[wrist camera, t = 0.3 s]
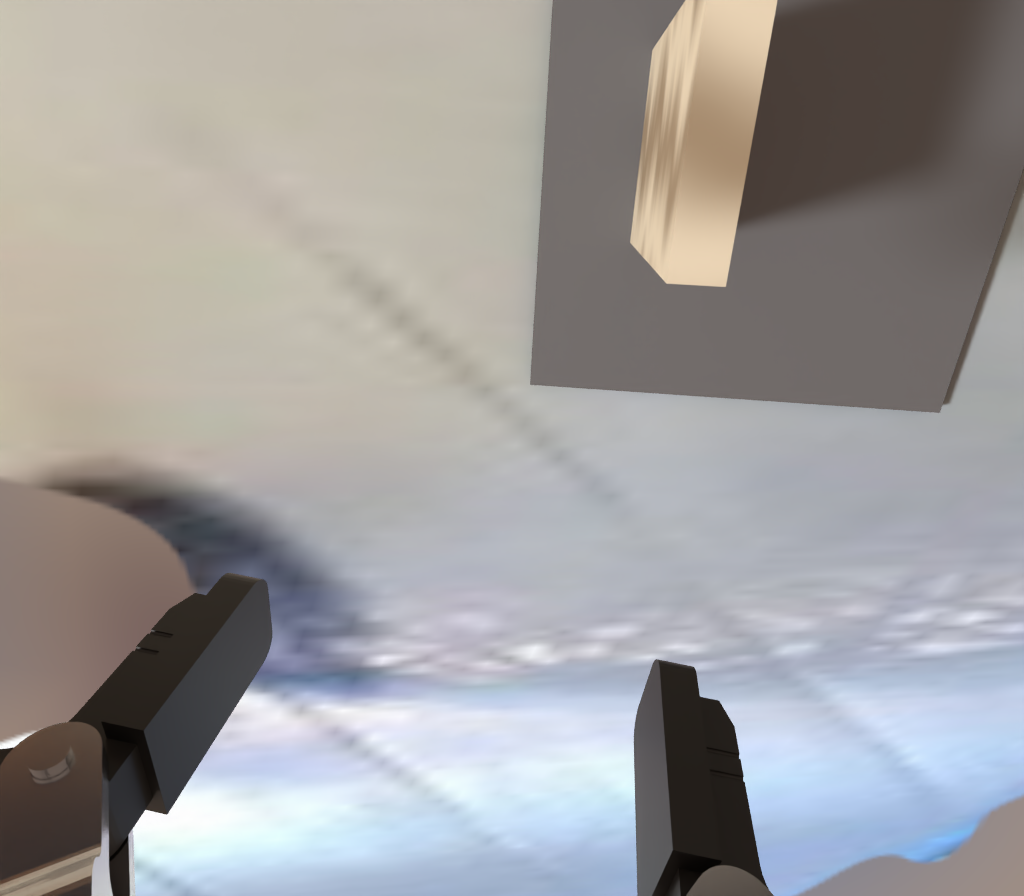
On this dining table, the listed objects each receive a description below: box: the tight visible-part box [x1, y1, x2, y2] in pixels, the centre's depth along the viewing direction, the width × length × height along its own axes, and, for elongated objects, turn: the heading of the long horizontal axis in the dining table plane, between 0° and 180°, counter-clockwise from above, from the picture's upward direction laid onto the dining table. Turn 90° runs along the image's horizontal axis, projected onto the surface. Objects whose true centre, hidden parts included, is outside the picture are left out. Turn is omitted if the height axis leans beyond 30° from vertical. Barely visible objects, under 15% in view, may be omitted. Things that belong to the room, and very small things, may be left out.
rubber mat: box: [530, 0, 1024, 413], centre depth 32 cm, size 26×24×1 cm
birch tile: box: [630, 0, 777, 287], centre depth 26 cm, size 9×2×14 cm, turn 177°
